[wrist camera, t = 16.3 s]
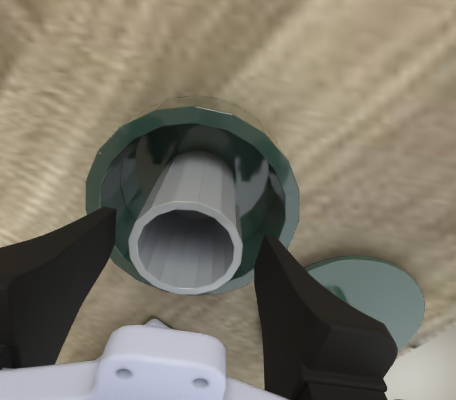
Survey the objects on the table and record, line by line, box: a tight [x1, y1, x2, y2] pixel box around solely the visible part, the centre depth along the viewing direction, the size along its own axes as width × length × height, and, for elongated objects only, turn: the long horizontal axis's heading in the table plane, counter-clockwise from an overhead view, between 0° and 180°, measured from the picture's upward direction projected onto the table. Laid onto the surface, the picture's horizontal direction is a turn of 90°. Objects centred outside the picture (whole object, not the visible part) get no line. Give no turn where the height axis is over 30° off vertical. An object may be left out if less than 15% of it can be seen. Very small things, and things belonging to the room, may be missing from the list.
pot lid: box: [304, 256, 425, 351], centre depth 23 cm, size 13×13×4 cm
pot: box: [86, 96, 299, 296], centre depth 18 cm, size 12×12×4 cm
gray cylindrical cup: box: [128, 151, 243, 295], centre depth 16 cm, size 5×5×7 cm
